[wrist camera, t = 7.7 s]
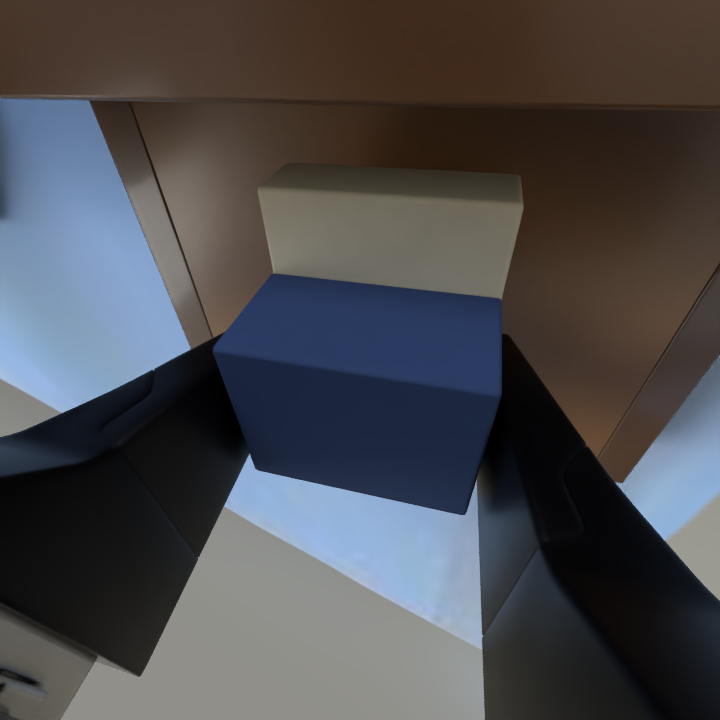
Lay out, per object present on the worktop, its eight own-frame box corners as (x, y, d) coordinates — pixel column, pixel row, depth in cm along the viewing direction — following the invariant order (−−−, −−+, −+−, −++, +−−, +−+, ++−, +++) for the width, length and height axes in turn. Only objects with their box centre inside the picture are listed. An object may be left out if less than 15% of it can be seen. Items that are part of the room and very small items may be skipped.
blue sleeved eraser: (457, 458, 13) (445, 585, 11) (324, 432, 14) (281, 543, 12) (521, 172, 7) (534, 290, 5) (286, 161, 8) (173, 253, 5)
